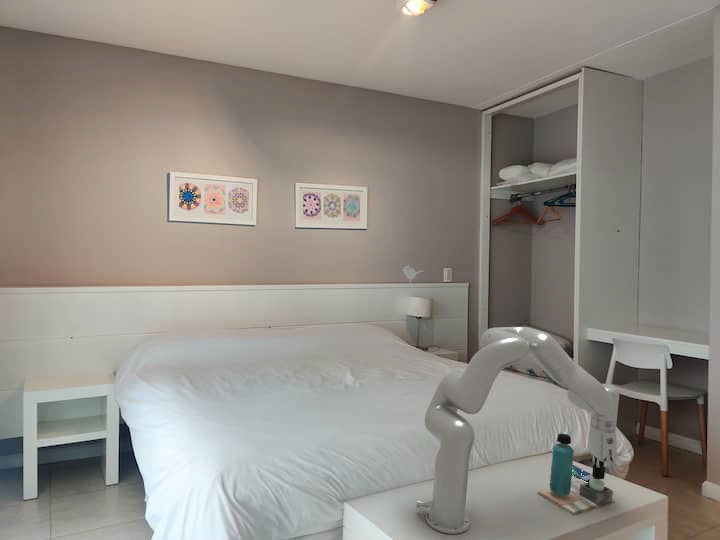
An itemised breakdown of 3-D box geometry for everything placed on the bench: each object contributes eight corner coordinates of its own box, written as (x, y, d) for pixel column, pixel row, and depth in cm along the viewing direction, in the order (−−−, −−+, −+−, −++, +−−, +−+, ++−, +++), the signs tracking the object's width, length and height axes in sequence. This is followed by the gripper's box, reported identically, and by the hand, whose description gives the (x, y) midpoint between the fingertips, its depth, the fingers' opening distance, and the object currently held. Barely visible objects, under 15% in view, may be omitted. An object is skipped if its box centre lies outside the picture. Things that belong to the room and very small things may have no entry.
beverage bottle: (571, 501, 163) (578, 440, 162) (549, 498, 165) (555, 437, 163) (567, 491, 170) (573, 432, 168) (546, 488, 171) (552, 430, 170)
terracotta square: (561, 507, 161) (561, 504, 161) (538, 494, 169) (539, 491, 169) (580, 502, 166) (580, 499, 166) (557, 488, 174) (557, 486, 173)
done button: (597, 495, 165) (598, 486, 164) (585, 488, 168) (586, 479, 168) (606, 492, 167) (607, 483, 166) (594, 486, 171) (595, 477, 170)
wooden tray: (573, 515, 157) (574, 502, 157) (537, 493, 170) (538, 481, 169) (614, 501, 167) (616, 489, 167) (577, 482, 179) (578, 470, 179)
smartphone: (587, 482, 179) (552, 463, 192) (587, 484, 179) (552, 465, 192) (600, 478, 183) (565, 460, 196) (600, 480, 183) (565, 462, 196)
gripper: (627, 432, 159) (621, 490, 160) (602, 415, 173) (597, 467, 175) (603, 431, 158) (598, 489, 160) (581, 414, 173) (576, 466, 175)
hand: (598, 477), depth 167 cm, fingers closed
